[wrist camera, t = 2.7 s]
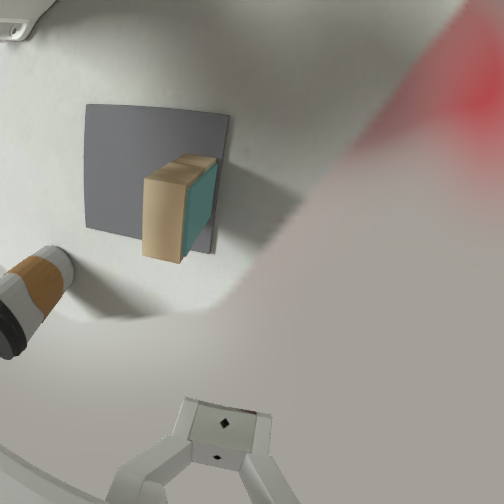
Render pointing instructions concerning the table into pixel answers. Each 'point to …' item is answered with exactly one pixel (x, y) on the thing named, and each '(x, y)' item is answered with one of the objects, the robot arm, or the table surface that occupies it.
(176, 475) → the robot arm
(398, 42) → the table surface
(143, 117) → the mat
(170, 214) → the plaque
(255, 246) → the table surface
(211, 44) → the table surface
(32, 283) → the coffee cup
